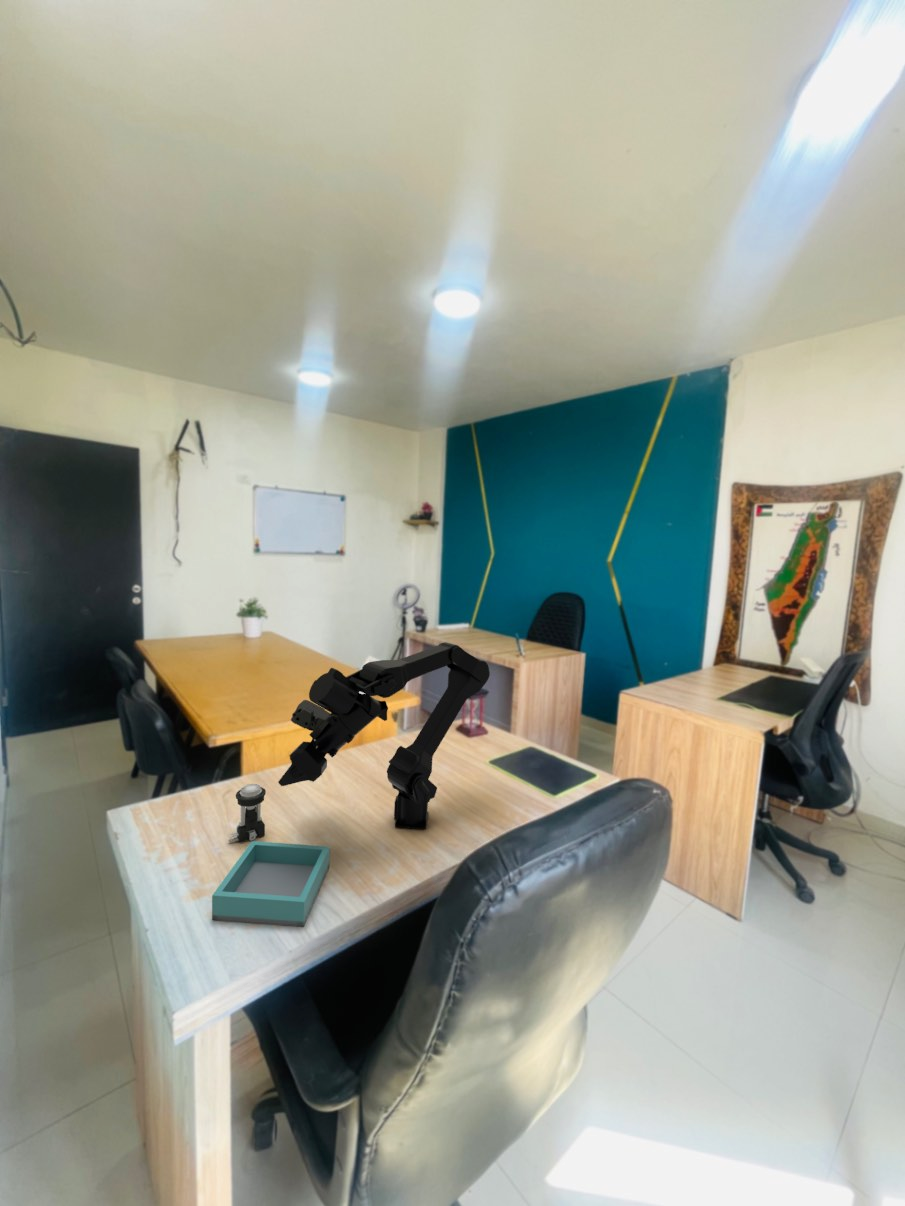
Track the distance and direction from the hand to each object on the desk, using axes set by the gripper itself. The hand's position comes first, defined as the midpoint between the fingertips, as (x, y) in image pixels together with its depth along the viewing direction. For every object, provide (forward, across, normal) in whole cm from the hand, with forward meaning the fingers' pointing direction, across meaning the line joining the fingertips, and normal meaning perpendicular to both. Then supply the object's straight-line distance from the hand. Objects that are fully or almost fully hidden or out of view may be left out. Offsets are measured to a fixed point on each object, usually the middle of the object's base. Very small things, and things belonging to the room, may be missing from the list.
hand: (289, 772), depth 95 cm
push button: (+15, 0, +4) cm, 16 cm away
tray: (+7, +14, +12) cm, 20 cm away
